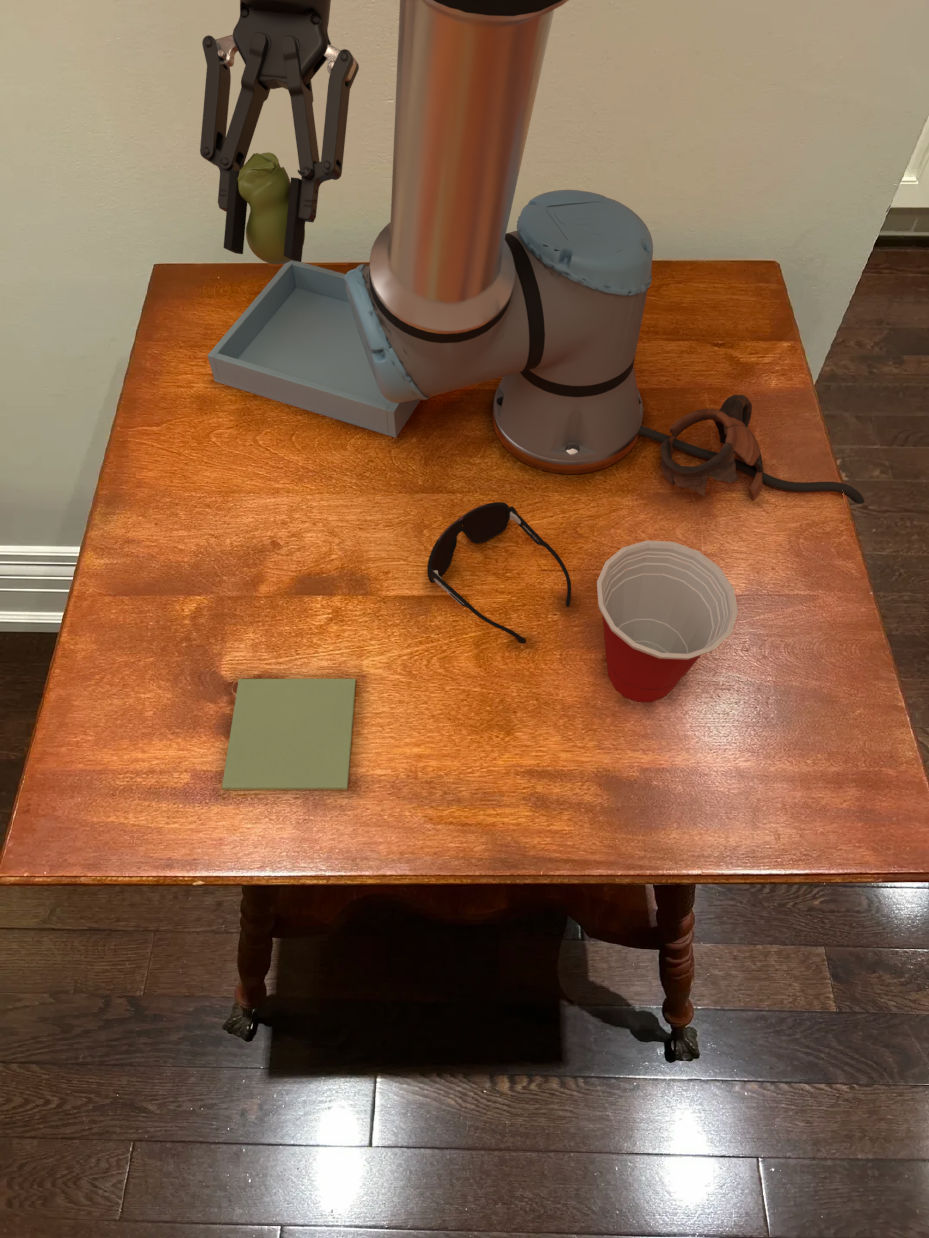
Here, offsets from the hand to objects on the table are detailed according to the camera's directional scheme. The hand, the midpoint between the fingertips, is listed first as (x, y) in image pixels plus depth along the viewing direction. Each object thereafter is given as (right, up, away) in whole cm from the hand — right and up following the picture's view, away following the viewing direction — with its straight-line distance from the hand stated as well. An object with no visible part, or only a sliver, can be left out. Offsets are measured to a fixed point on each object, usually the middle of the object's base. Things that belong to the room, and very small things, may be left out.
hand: (262, 254), depth 86 cm
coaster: (+4, -42, -7) cm, 43 cm away
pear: (+1, +1, +5) cm, 5 cm away
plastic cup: (+34, -38, -4) cm, 51 cm away
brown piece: (+43, -18, +9) cm, 48 cm away
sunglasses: (+22, -30, +1) cm, 37 cm away
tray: (+5, -4, +18) cm, 20 cm away
